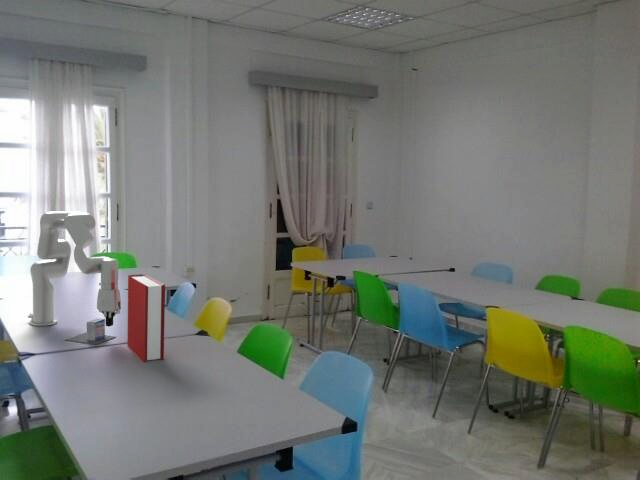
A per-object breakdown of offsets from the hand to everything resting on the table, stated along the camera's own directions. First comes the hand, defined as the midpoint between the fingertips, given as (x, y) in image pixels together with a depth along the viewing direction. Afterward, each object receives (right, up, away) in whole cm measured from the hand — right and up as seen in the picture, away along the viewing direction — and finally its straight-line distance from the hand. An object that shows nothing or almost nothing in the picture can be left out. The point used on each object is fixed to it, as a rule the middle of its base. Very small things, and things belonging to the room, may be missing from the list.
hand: (109, 325), depth 273 cm
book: (+20, -10, -13) cm, 26 cm away
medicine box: (-7, -7, +3) cm, 10 cm away
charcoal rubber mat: (-10, -7, +4) cm, 13 cm away
